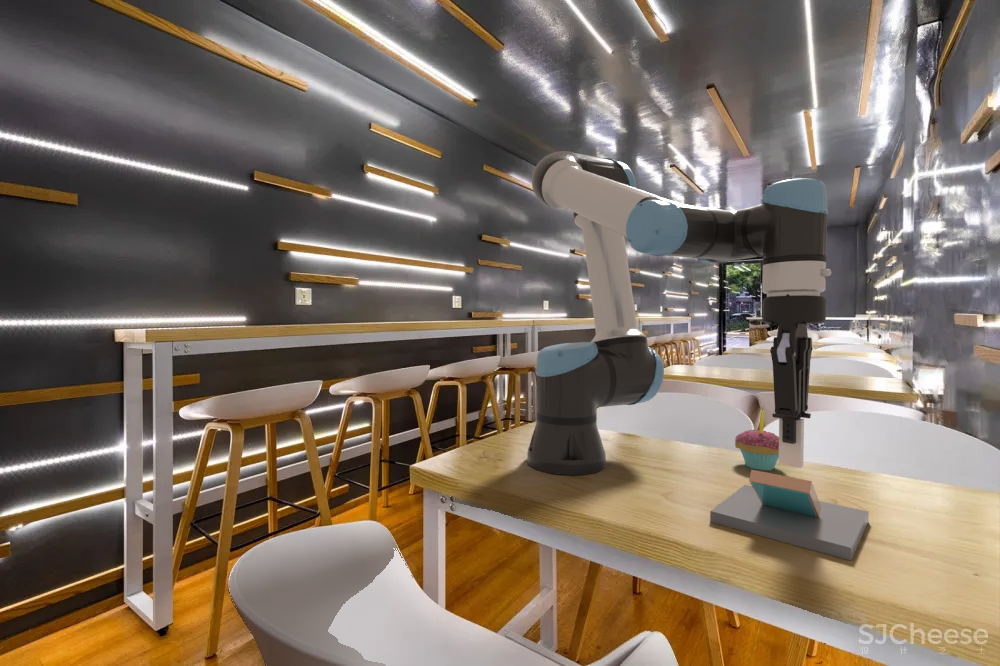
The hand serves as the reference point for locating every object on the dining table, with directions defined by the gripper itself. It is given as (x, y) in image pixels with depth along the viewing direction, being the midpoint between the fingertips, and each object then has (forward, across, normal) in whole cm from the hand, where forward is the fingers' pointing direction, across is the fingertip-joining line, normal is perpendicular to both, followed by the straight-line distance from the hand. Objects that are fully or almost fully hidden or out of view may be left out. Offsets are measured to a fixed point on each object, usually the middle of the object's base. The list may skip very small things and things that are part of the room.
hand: (790, 464), depth 68 cm
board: (+8, 0, 0) cm, 8 cm away
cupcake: (+8, +25, +10) cm, 28 cm away
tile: (+6, 0, 0) cm, 6 cm away
